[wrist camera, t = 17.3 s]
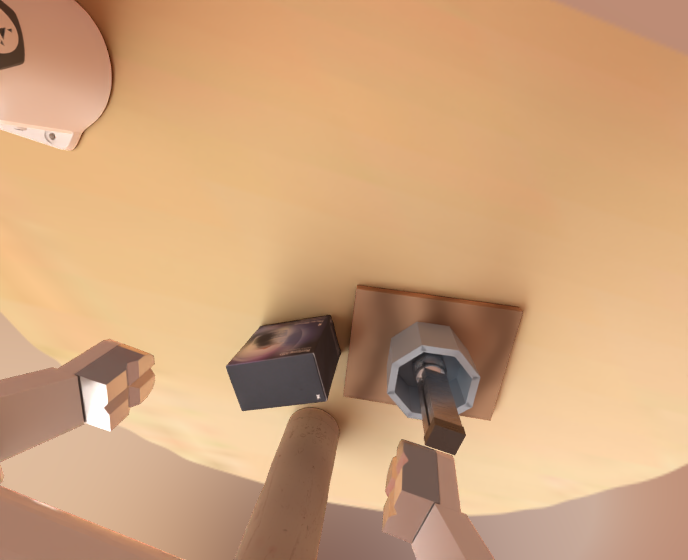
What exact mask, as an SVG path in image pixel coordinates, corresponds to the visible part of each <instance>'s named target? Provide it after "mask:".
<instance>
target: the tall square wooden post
mask: <svg viewBox="0 0 688 560" xmlns="http://www.w3.org/2000/svg"><path fill="white" fill-rule="evenodd" d="M411 364H412V371H413V377H414V379H415V380H416V382H417V388H418V395H419V401H420V408H421V415H422V421H423V428H424V434H425V436H424V441H425V445H426V446H429V447H432V448H435V449H438V450H441V451H444V452H447V453H450V454H453V455H455V454H456V452H457V451H458V449H459V447H460V445H461V443H462V441H463V439H464V438H465V436H466V434H465V431H464V427H462V424H461V421H460V418H459V414H458V411H457V408H456V405H455V401H454V398H453V395H452V392H451V388H450V385H449V382H448V379H447V368H446V365H445V362H444V359H443V356H442V355H440V354H433V353H427V352H423V353H421V354H420V355H418V356H417V357H415V358H413V359H412V360H411Z"/></svg>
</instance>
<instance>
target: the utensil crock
mask: <svg viewBox="0 0 688 560" xmlns="http://www.w3.org/2000/svg"><path fill="white" fill-rule="evenodd" d="M423 352H427V353H433V354H440V355H442V356H443V359H444V362H445V365H446V368H447V379H448V382H449V385H450V388H451V392H452V395H453V398H454V401H455V405H456V408H457V411H458V414H461V413H462V412H464V411H466V410H468V409H470V408H472V406H473V403H474V399H475V395H476V392H477V388H478V384H479V381H480V375H479V373H478V371H477V369H476V367H475V364H474V362H473V360H472V358H471V356H470V354H469V352H468V349H467V348H466V347H465V346H464V344H463V343H462V342H461V341H460V339H459V338H458V337H457V335H456V334H455V333H454V332H453V330H452V329H451V328H450V326H445V325H438V324H431V323H424V322H416V323H414V324H412V325H411V326H409V327H408V328H406V329H405V330H403V331H402V332H400V333H398V334H397V335H395V336H394V337H392V338H391V343H390V349H389V355H388V361H387V394H388V395H389V396H390V398H391V399H392V400H393V401H394V402H395V403H396V405H397V406H398V407H399V408H400V409H401V410H402V412H403V413H404V414H405V415H406V416H407V417H408V418H414V419H420V420H422V415H421V408H420V401H419V395H418V388H417V382H416V380H415V379H414V377H413V371H412V364H411V360H412V359H413V358H415V357H417V356H418V355H420V354H421V353H423Z"/></svg>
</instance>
